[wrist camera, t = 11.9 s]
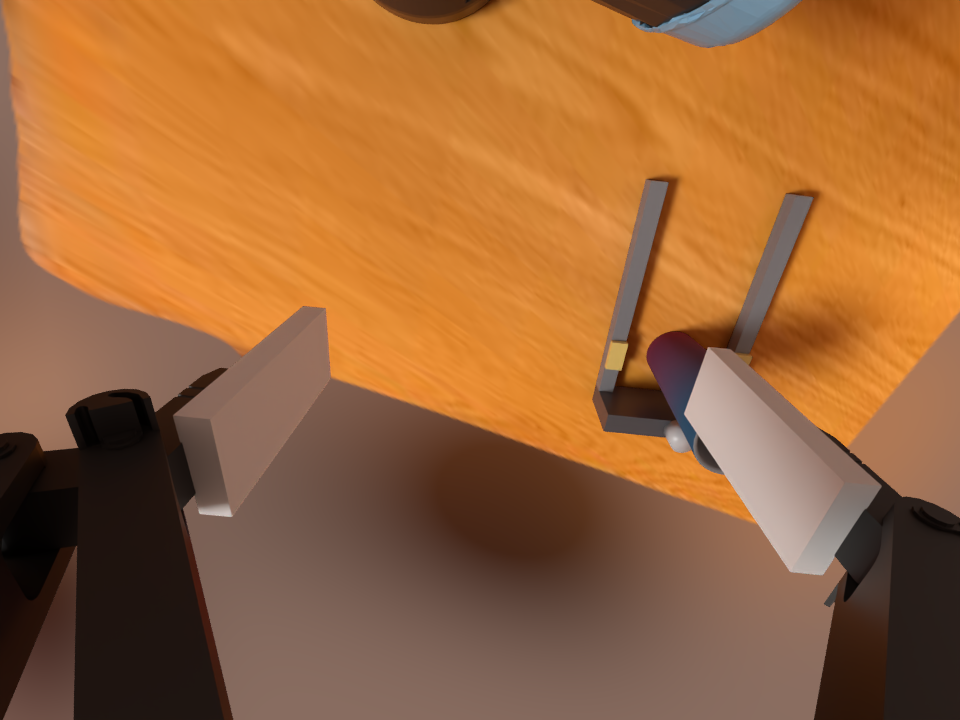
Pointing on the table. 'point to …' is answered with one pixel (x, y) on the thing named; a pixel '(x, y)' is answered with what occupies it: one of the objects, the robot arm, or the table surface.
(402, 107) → the table surface
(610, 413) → the grey u-shaped fork
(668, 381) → the cup
